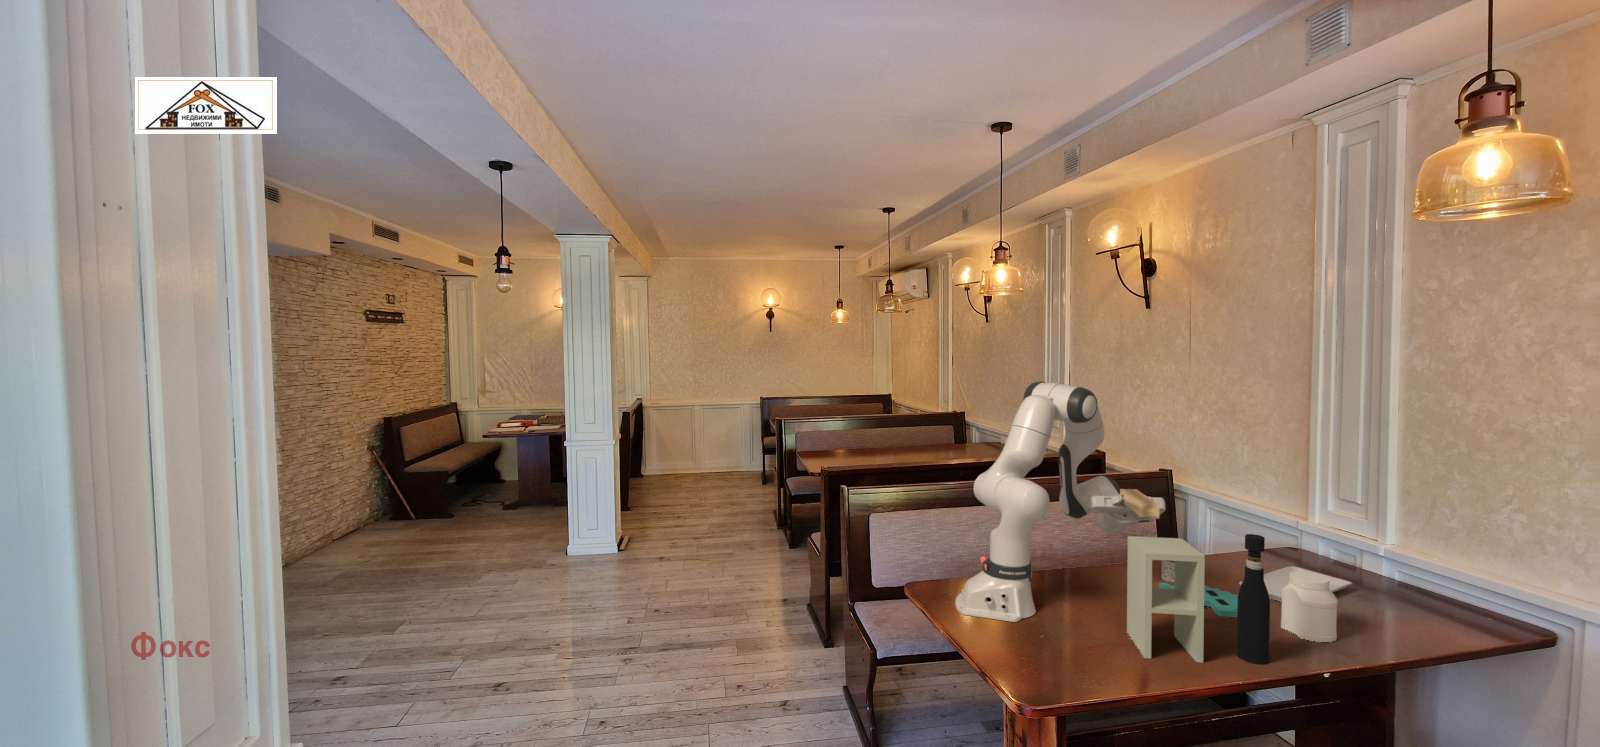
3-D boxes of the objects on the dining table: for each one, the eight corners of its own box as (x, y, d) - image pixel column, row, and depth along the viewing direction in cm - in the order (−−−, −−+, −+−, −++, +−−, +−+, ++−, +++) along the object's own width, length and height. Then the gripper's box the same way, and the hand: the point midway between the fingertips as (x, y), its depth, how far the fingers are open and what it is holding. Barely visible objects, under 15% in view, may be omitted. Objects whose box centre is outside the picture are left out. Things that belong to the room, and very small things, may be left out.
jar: (1345, 642, 162) (1346, 584, 162) (1309, 643, 162) (1310, 585, 161) (1306, 622, 174) (1307, 568, 173) (1273, 624, 173) (1274, 569, 173)
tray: (1354, 592, 195) (1354, 581, 195) (1300, 613, 180) (1300, 601, 180) (1291, 575, 210) (1291, 565, 210) (1236, 593, 195) (1236, 582, 195)
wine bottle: (1230, 652, 158) (1232, 532, 156) (1254, 651, 158) (1256, 531, 157) (1250, 665, 151) (1252, 540, 150) (1275, 663, 152) (1278, 539, 151)
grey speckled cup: (1187, 584, 202) (1187, 564, 202) (1163, 582, 204) (1163, 561, 204) (1180, 574, 211) (1181, 554, 211) (1158, 571, 214) (1158, 552, 214)
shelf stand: (1144, 658, 155) (1145, 553, 154) (1126, 632, 169) (1127, 536, 168) (1203, 662, 153) (1204, 556, 152) (1180, 636, 167) (1181, 538, 165)
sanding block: (1141, 518, 171) (1141, 504, 170) (1120, 500, 189) (1120, 488, 189) (1159, 518, 170) (1159, 505, 169) (1136, 501, 188) (1136, 489, 188)
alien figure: (1184, 616, 180) (1264, 621, 176) (1184, 608, 180) (1264, 613, 176) (1159, 589, 200) (1230, 593, 196) (1159, 582, 200) (1230, 586, 196)
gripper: (1083, 499, 199) (1093, 485, 187) (1154, 501, 195) (1169, 487, 183) (1086, 519, 197) (1096, 507, 185) (1158, 521, 193) (1173, 509, 181)
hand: (1133, 497), depth 184 cm, fingers closed on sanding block, 4 cm apart
